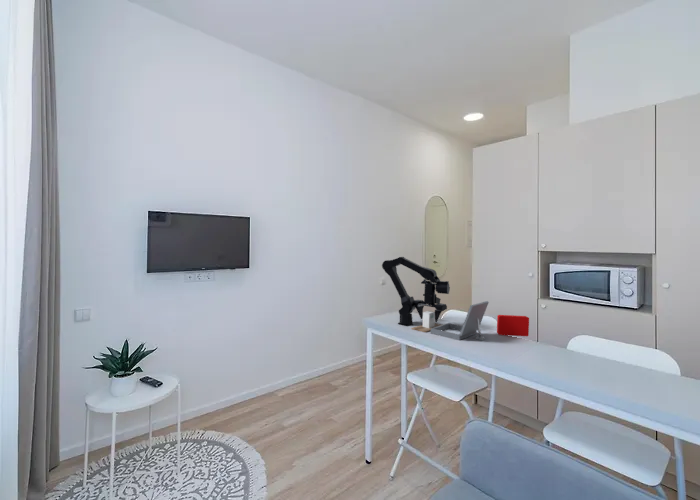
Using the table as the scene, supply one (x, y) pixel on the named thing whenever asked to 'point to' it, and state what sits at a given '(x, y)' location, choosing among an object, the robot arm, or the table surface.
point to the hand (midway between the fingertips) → (428, 320)
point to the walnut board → (423, 329)
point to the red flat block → (512, 325)
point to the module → (428, 319)
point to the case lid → (473, 317)
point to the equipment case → (452, 335)
